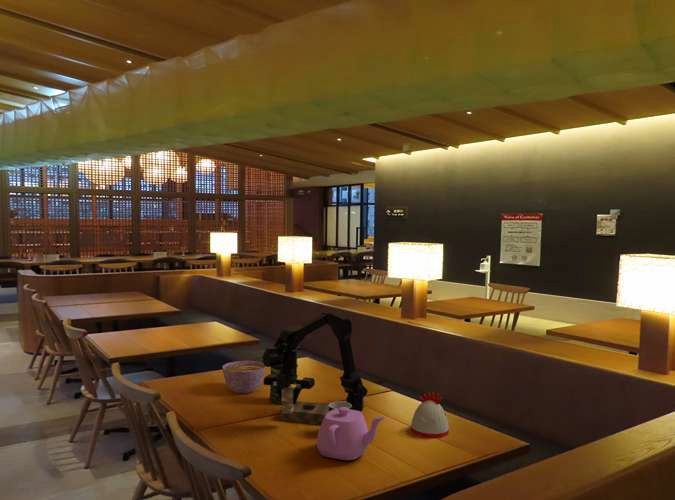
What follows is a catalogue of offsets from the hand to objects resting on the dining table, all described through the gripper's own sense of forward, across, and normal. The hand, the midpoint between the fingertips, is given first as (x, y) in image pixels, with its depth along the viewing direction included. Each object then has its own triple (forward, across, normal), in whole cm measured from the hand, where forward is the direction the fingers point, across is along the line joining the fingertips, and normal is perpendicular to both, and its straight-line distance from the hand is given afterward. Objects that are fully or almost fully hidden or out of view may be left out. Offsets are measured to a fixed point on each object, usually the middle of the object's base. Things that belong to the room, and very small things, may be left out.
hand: (288, 403), depth 201 cm
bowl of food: (+9, -34, +35) cm, 50 cm away
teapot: (+9, +26, -17) cm, 32 cm away
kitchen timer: (+9, +52, +11) cm, 54 cm away
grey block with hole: (+8, +4, +11) cm, 15 cm away
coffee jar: (+9, -13, +26) cm, 30 cm away
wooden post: (+3, 0, 0) cm, 3 cm away
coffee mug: (+9, +21, +1) cm, 23 cm away
